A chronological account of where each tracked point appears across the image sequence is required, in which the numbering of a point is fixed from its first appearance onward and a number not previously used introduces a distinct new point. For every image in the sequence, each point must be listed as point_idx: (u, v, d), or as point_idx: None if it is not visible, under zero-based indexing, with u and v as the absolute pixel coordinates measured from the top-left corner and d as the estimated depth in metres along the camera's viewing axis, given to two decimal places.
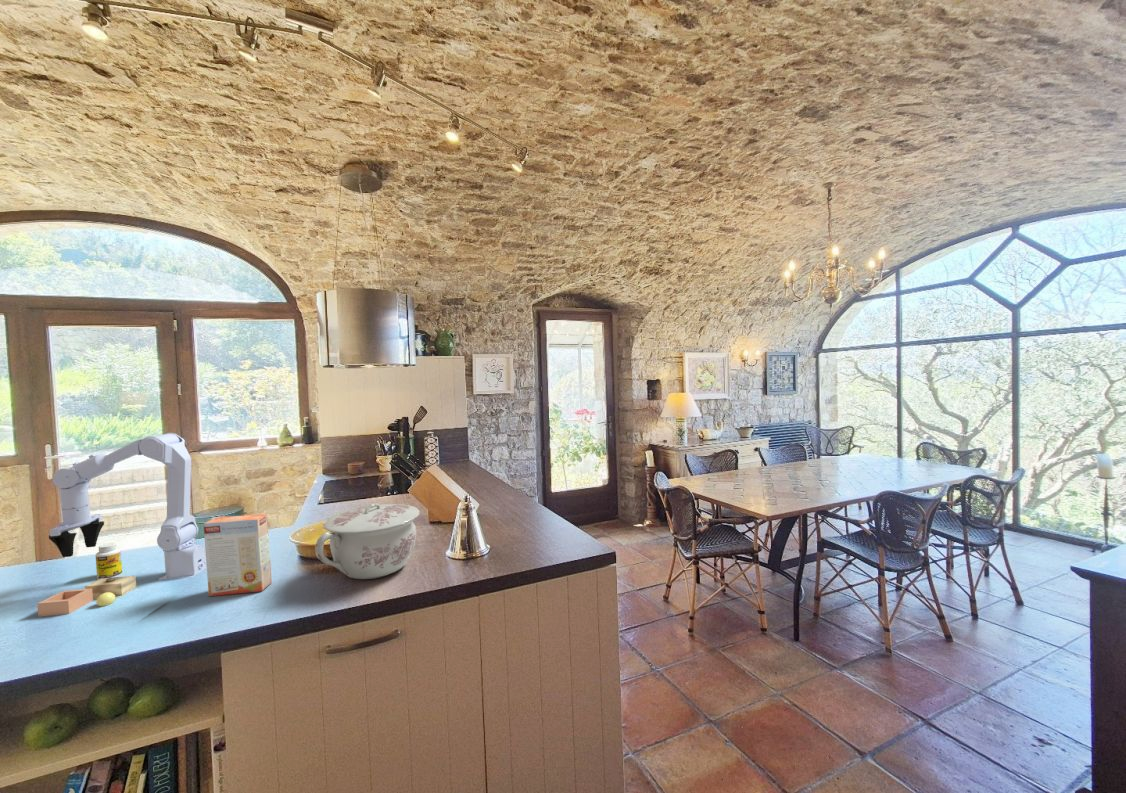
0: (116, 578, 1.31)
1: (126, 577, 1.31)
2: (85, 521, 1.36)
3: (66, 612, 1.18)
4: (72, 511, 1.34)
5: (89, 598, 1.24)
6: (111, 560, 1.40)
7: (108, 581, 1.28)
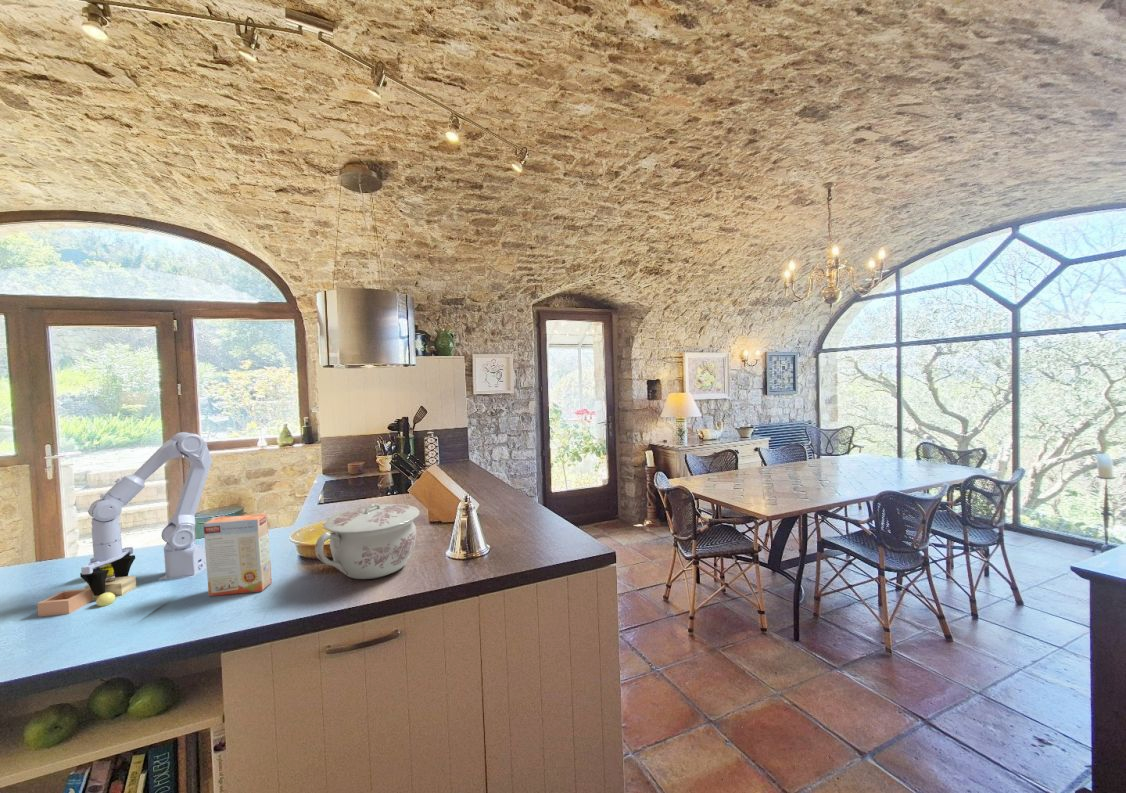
0: (116, 578, 1.31)
1: (126, 577, 1.31)
2: (117, 556, 1.28)
3: (66, 612, 1.18)
4: (104, 546, 1.26)
5: (89, 598, 1.24)
6: None
7: (108, 581, 1.28)
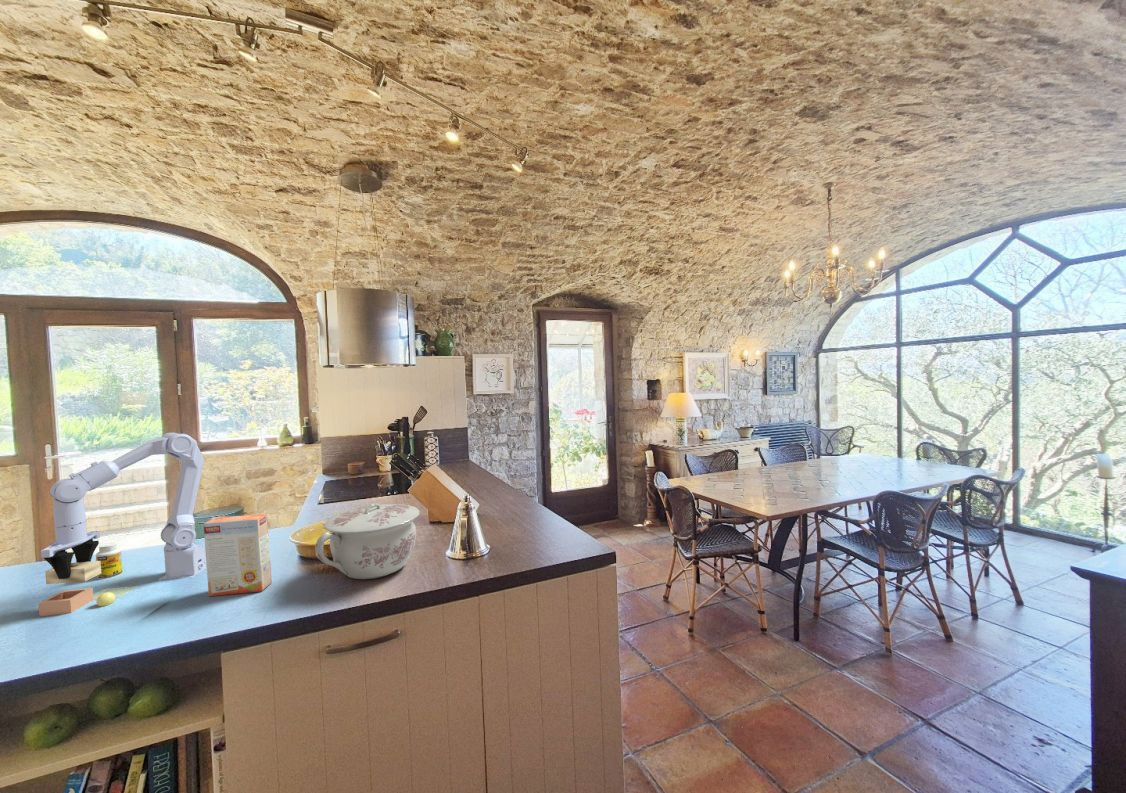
0: (80, 563, 1.24)
1: (90, 562, 1.25)
2: (81, 540, 1.22)
3: (68, 611, 1.19)
4: (66, 529, 1.20)
5: (89, 597, 1.24)
6: (111, 560, 1.40)
7: None
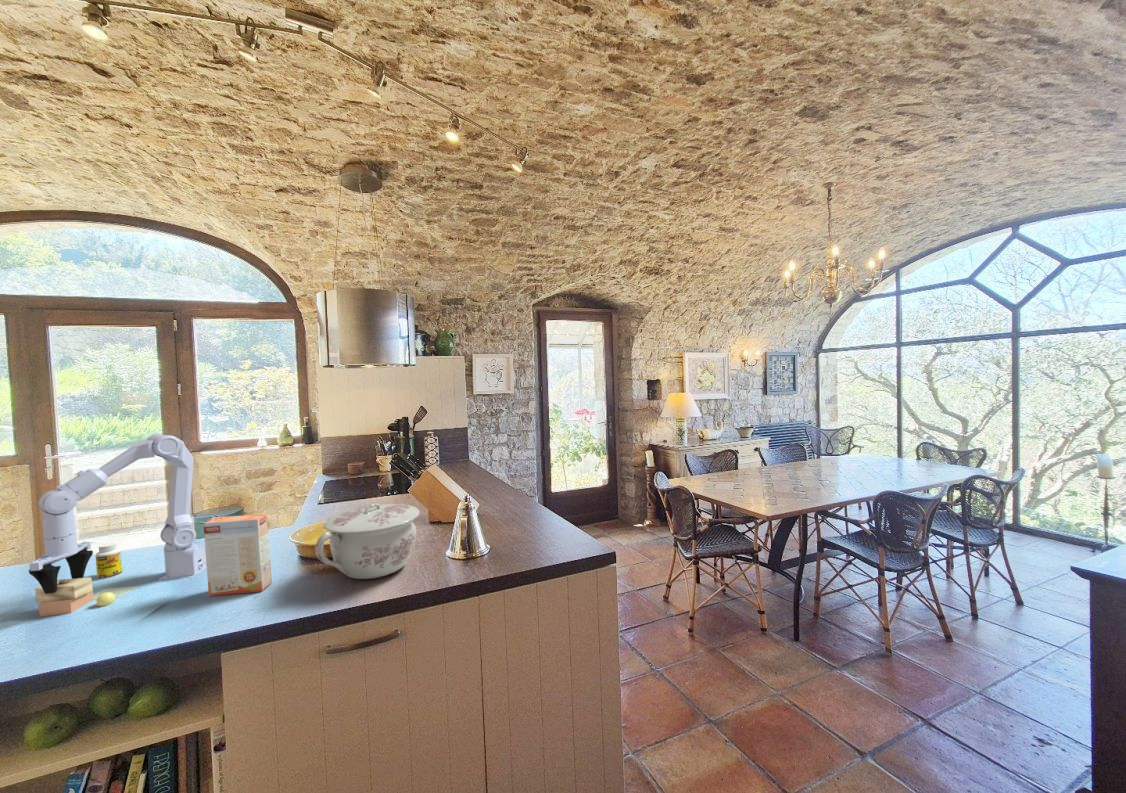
0: (71, 580, 1.22)
1: (81, 579, 1.23)
2: (71, 552, 1.20)
3: (68, 611, 1.19)
4: (56, 541, 1.18)
5: (89, 597, 1.24)
6: (110, 560, 1.40)
7: (61, 583, 1.20)
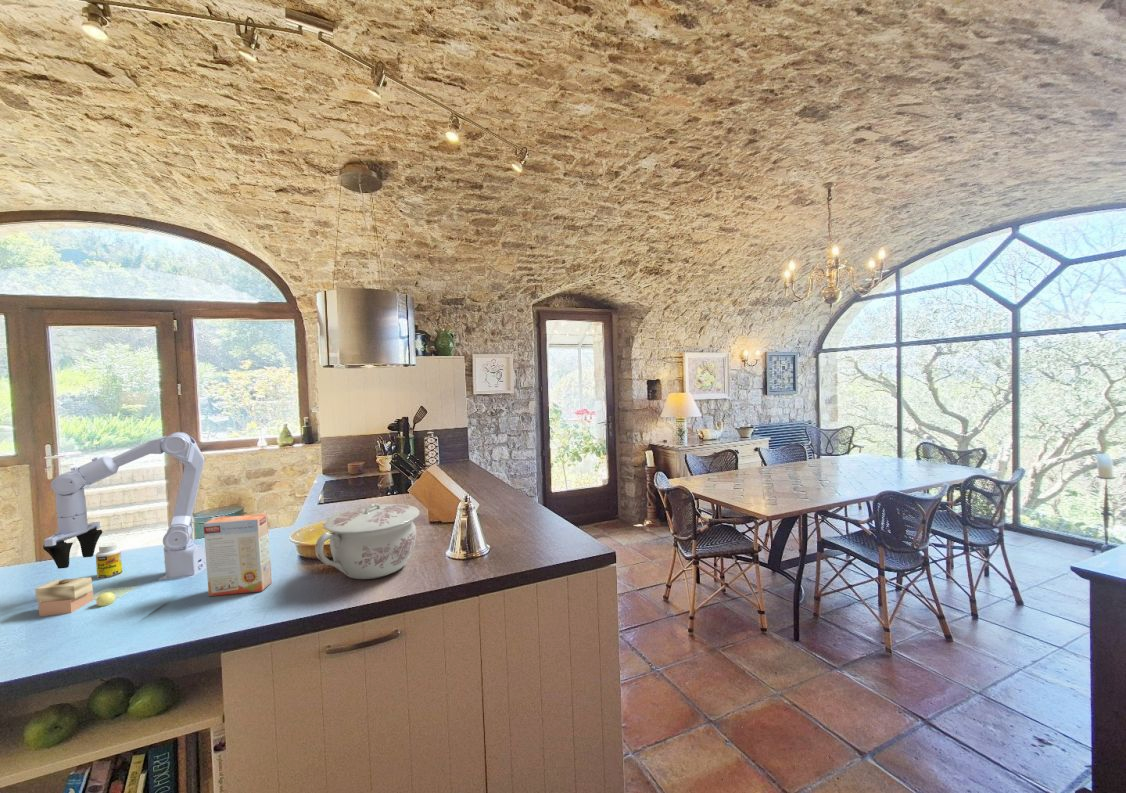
0: (71, 580, 1.22)
1: (81, 579, 1.23)
2: (82, 530, 1.28)
3: (68, 611, 1.19)
4: (68, 519, 1.26)
5: (89, 597, 1.24)
6: (111, 560, 1.40)
7: (61, 583, 1.20)
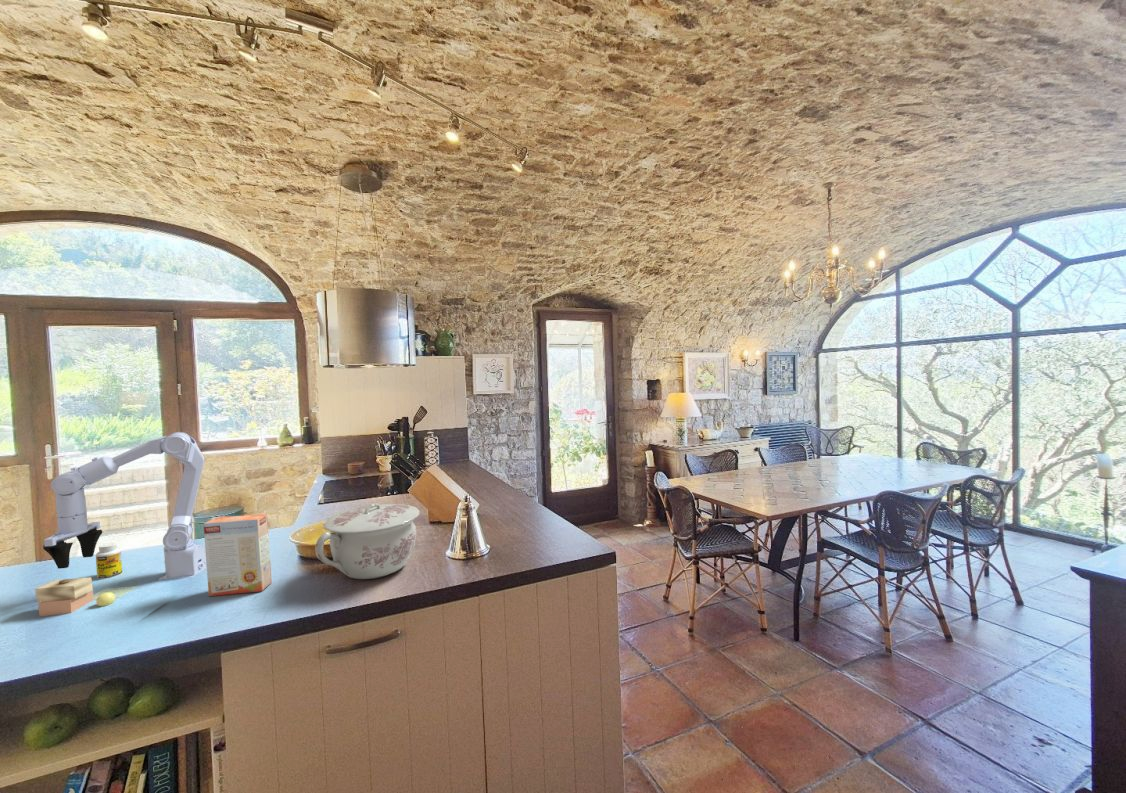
0: (71, 580, 1.22)
1: (81, 579, 1.23)
2: (82, 530, 1.28)
3: (68, 611, 1.19)
4: (68, 519, 1.26)
5: (89, 597, 1.24)
6: (111, 560, 1.40)
7: (61, 583, 1.20)
